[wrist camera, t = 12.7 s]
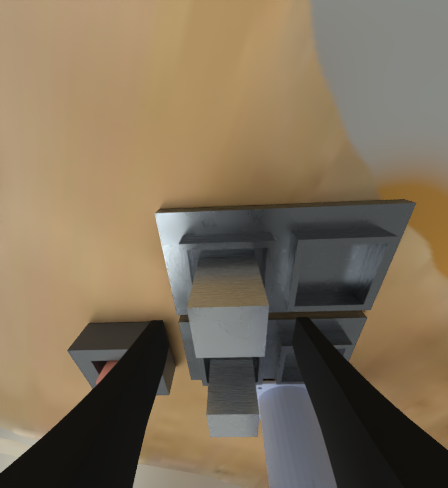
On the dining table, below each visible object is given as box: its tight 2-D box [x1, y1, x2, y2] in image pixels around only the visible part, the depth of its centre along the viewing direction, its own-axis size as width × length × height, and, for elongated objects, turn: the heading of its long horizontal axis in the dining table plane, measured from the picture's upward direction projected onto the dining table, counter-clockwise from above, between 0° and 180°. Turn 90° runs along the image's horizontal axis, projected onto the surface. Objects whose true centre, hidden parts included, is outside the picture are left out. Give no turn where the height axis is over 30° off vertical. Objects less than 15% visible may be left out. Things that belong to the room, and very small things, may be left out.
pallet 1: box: [155, 199, 416, 315], centre depth 15 cm, size 10×18×2 cm, turn 93°
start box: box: [67, 322, 176, 395], centre depth 20 cm, size 8×8×3 cm
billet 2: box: [206, 357, 259, 437], centre depth 18 cm, size 4×4×6 cm
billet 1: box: [187, 248, 269, 358], centre depth 13 cm, size 4×4×6 cm
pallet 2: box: [179, 310, 367, 386], centre depth 20 cm, size 10×18×2 cm, turn 92°
